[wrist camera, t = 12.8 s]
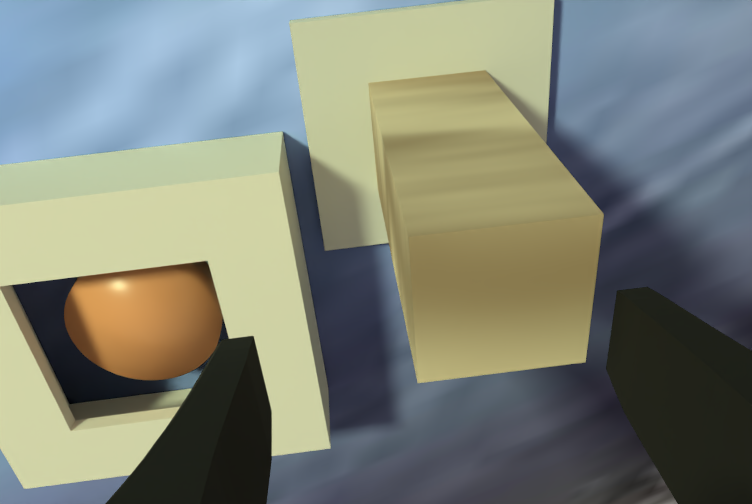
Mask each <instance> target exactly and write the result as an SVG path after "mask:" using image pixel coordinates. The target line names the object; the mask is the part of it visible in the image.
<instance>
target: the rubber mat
mask: <svg viewBox="0 0 752 504" xmlns="http://www.w3.org/2000/svg"><path fill="white" fill-rule="evenodd" d="M553 15H554V0H464V1H455V2H447V3H438V4H429V5H420V6H412V7H403V8H394V9H385V10H376V11H368V12H359V13H350V14H341V15H332V16H324V17H315V18H306V19H297V20H290V22H289V24H290V31H291V37H292V43H293V50H294V56H295V63H296V69H297V75H298V82H299V88H300V95H301V101H302V107H303V114H304V120H305V126H306V133H307V139H308V146H309V152H310V158H311V165H312V171H313V177H314V184H315V190H316V197H317V203H318V209H319V216H320V222H321V228H322V235H323V241H324V248H325V251H328V250H336V249H344V248H352V247H360V246H368V245H376V244H384V243H389V241H388V236H387V232H386V227H385V222H384V217H383V212H382V207H381V203H380V198H379V193H378V187H377V176H376V164H375V153H374V142H373V131H372V119H371V108H370V97H369V86H368V83H372V82H381V81H390V80H400V79H409V78H418V77H427V76H437V75H446V74H455V73H464V72H474V71H483V70H486V72H487V73H488V74H489V75H490V76H491V78H492V79H493V80H494V81H495V83H496V84H497V85H498V86H499V87H500V89H501V90H502V91H503V92H504V93H505V95H506V96H507V97H508V98H509V100H510V101H511V102H512V103H513V104H514V106H515V107H516V108H517V109H518V111H519V112H520V113H521V114H522V115H523V117H524V118H525V119H526V120H527V121H528V123H529V124H530V125H531V126H532V128H533V129H534V130H535V131H536V132H537V134H538V135H539V136H540V137H541V138H542V140H543V141H544V142H545V143H546V141H547V123H548V105H549V87H550V69H551V51H552V33H553Z"/></svg>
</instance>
